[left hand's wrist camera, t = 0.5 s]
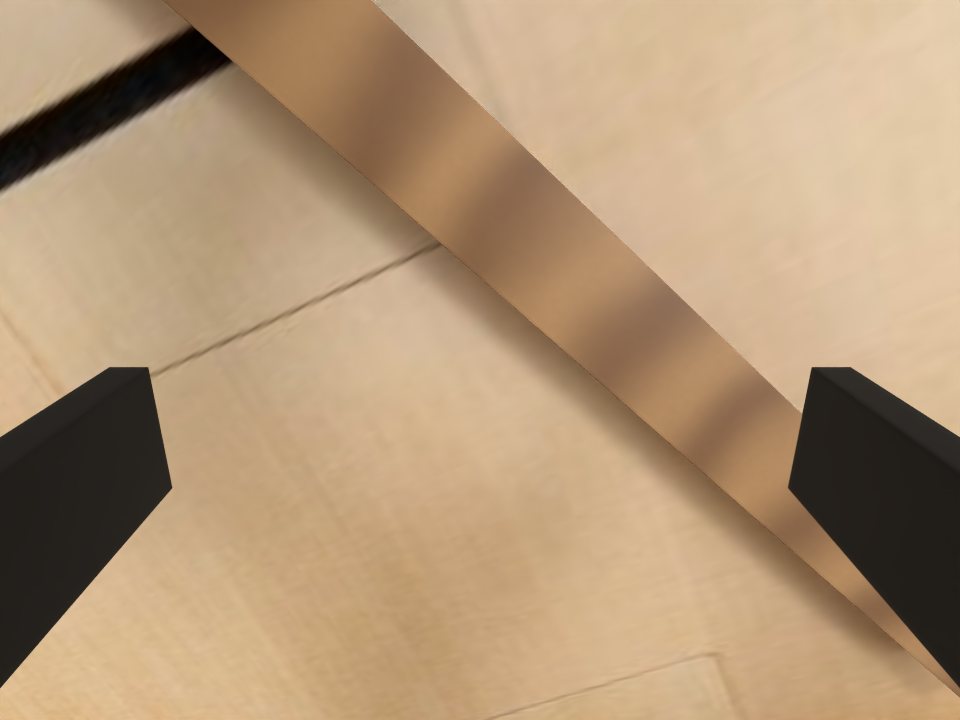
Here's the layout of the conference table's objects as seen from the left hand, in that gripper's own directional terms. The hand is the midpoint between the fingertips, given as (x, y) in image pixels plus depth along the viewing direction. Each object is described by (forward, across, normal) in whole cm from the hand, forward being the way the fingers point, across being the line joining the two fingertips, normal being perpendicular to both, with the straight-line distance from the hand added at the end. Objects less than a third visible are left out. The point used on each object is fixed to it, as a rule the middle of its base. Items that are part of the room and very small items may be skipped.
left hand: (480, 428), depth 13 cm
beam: (+25, +8, -4) cm, 27 cm away
